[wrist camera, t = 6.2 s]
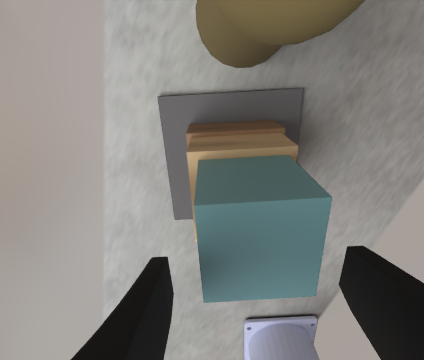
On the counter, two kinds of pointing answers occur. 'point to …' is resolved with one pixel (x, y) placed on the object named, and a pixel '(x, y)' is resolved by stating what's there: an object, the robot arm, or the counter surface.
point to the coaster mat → (217, 113)
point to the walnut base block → (233, 128)
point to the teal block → (259, 228)
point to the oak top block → (235, 151)
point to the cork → (264, 25)
